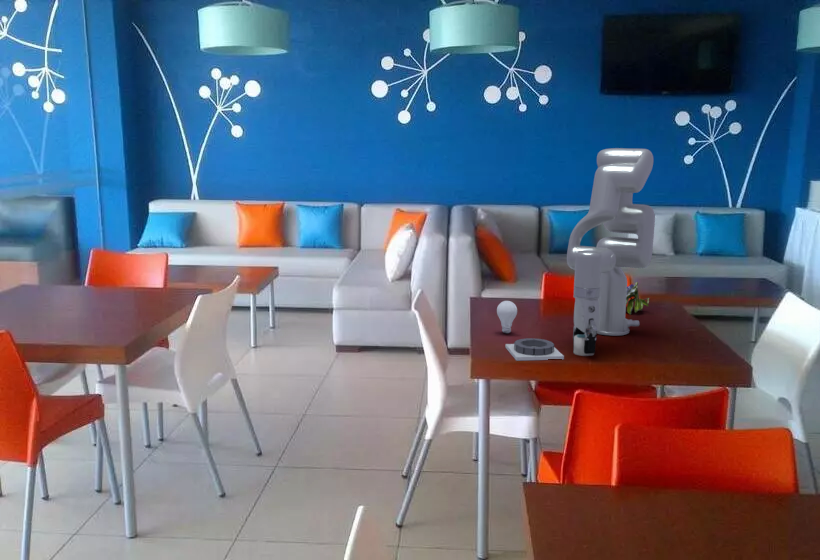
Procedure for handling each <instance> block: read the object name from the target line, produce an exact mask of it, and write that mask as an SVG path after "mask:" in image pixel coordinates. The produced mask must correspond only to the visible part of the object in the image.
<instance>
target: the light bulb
mask: <svg viewBox="0 0 820 560" xmlns="http://www.w3.org/2000/svg"><path fill="white" fill-rule="evenodd" d="M517 314H518V308H517V305H516V304H515V303H514V302H513V301H510V300H503V301H501V302H500V303H499V304H498V305H497V308H496V315H497V317H498V318H499V320H500V323H501V324H500V325H501V331H502V333H503V334H506V335H507V334H510V333H511V332H512V328H511V327H512V326H513V322H514V319H515V318H516V317H517Z"/></svg>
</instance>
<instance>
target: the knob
mask: <svg viewBox="0 0 820 560" xmlns="http://www.w3.org/2000/svg"><path fill="white" fill-rule="evenodd" d="M589 334H590V333H588V336H589ZM585 340H586V337H585V334H577V335H575V336H574V344H573V352H572V353H573V354H574V355H576V356H582V357H589V356H590V357H591V356H594V355H595V353H594V354H585V353H584V341H585Z"/></svg>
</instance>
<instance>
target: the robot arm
mask: <svg viewBox="0 0 820 560" xmlns="http://www.w3.org/2000/svg"><path fill="white" fill-rule="evenodd" d="M596 165H597V169H596V171H595V173H594V176H593V177H594V178H593V183H592V184H593V185H592V189H591V190H592V191H591V197H590V203H589V210H588V213H586V215H585V216H583V218H581V219H580V220H579V221H578V222H577V224H576V225H575V226H574V228H573V229H572V231H571V232H570V236H569V239H568V246H567V252H566V264H567V266H568V267H569V268H570V269H571V270H573V271H574V279H573V280H574V281H573V298H574V309H573V328H574V331H575V332H574V336H575V335H577V334H585V337H586V340H585V341H584V353H585V354H594V355H595V354H596V347H597V346H596V342H597V336H598V335H603V336H611V337H613V336H617V337H618V336H619V337H620V336H624V335H628V334H629V333H630V327H640V321H639V320H633V319H628V318H627V317H626V312H627V304H626V296H627V287H628V277H627V276H626V274H625V272H624V271H623V269H622V268H631V269H633V268H634V269H645V268H646V269H647V267H649V266H650V264H651V261H652V257H653V246H654V237H655V226H656V223H655V222H656V213H655V211H654V209H653V207H652V206H650V205H648V204H638V203H637V204H636V203H633V195H634V193H636V194H637V193H639V192H640V191H642V189H644V186H645V184H646V182H647V180H648V178H649V177H650V174H651V172H652V170H653V165H654V155H653V153H652V151H651V150H649V149H647V148H623V147H620V148H619V147H615V148H614V147H613V148H611V147H610V148H605V149H602V150H600V151H599V152H597V156H596ZM601 225H603V226H604V229H605V230H606V231H607V232H610V233H616V234H617V233H618V234H628V235H629V234H631V235H637V237H634V238H633V237H624V236H605V237H603V238H601V239H599V240H598V241H597V243H596V246H587V245H581V241H582V239H583V237H584V236H585V234H587V233H588V231H590V230H592V229H594V228H596V227H598V226H601ZM588 334H589V336H588ZM597 334H598V335H597ZM572 341H573V342H572V343H573V345H574V339H573V338H572Z"/></svg>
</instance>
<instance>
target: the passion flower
mask: <svg viewBox="0 0 820 560" xmlns="http://www.w3.org/2000/svg"><path fill="white" fill-rule="evenodd" d="M638 285H639V282H638V281H635V283H634V284H633V283H631V284H629V285H627V296H626V312H627V314H629V315H632V311H633V309H634V313H635V314H636V313H638V311H643V308H644V306H646V307H649V302H650V297H646V298H640V295H639V287H638Z"/></svg>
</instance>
